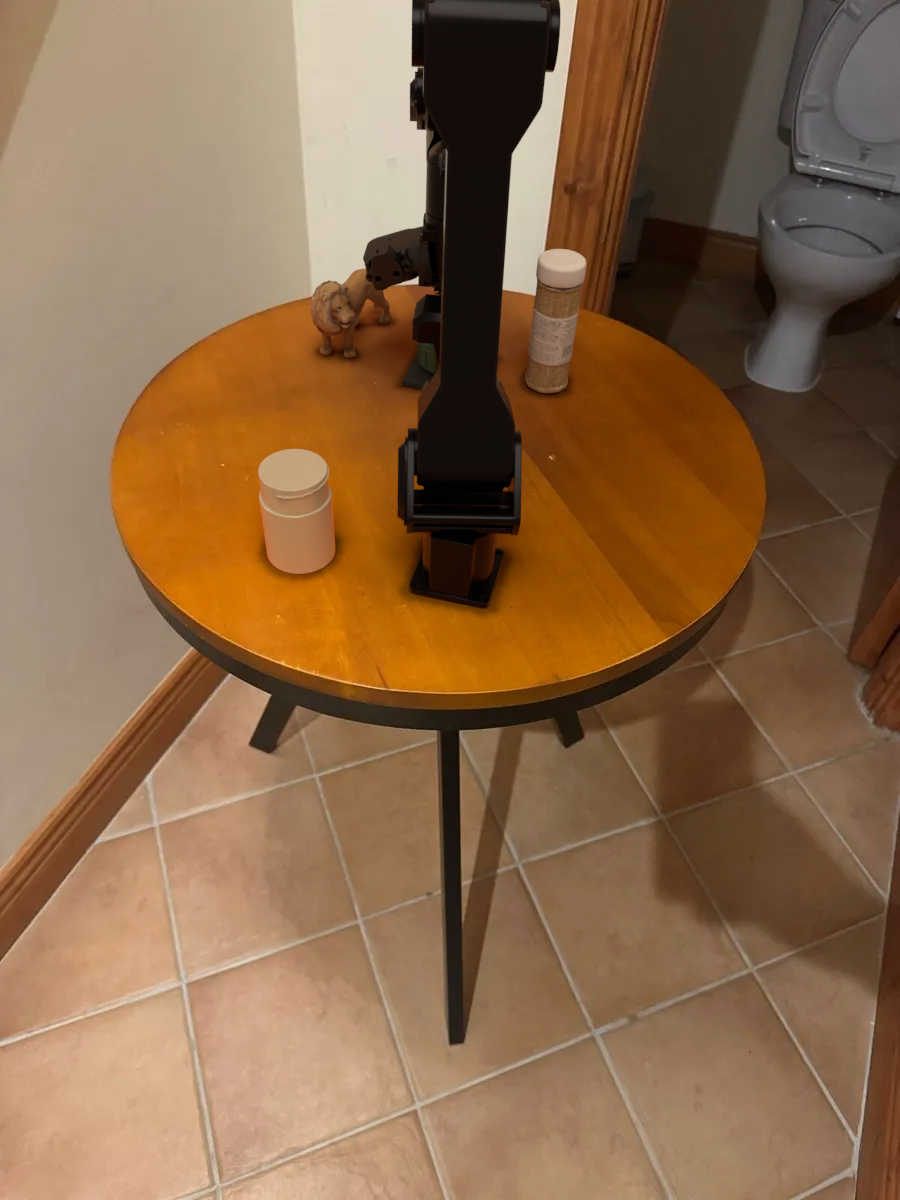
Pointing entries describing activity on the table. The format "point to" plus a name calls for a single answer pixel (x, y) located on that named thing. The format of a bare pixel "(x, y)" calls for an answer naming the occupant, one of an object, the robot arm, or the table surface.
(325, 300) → the lion figurine
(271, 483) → the jar
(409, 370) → the coaster
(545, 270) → the spice bottle
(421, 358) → the lid
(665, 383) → the table surface
